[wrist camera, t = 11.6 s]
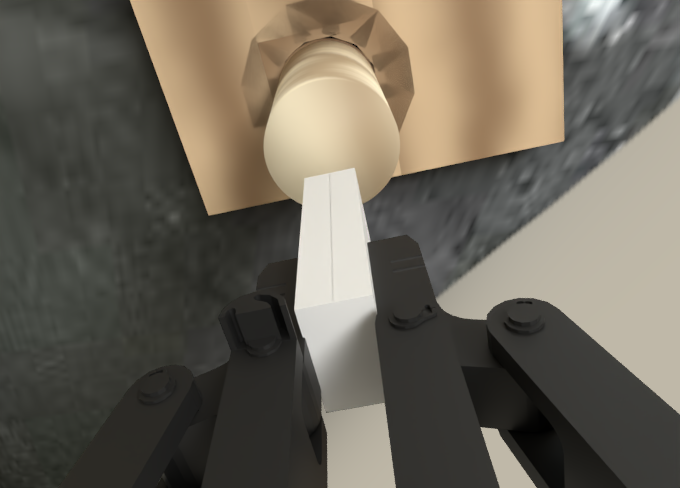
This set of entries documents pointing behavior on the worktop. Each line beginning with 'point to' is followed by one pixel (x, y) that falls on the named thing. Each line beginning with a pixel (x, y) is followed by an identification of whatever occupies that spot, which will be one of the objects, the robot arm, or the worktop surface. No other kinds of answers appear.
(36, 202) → the worktop surface
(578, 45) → the worktop surface
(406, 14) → the board
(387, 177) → the peg
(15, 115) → the worktop surface
